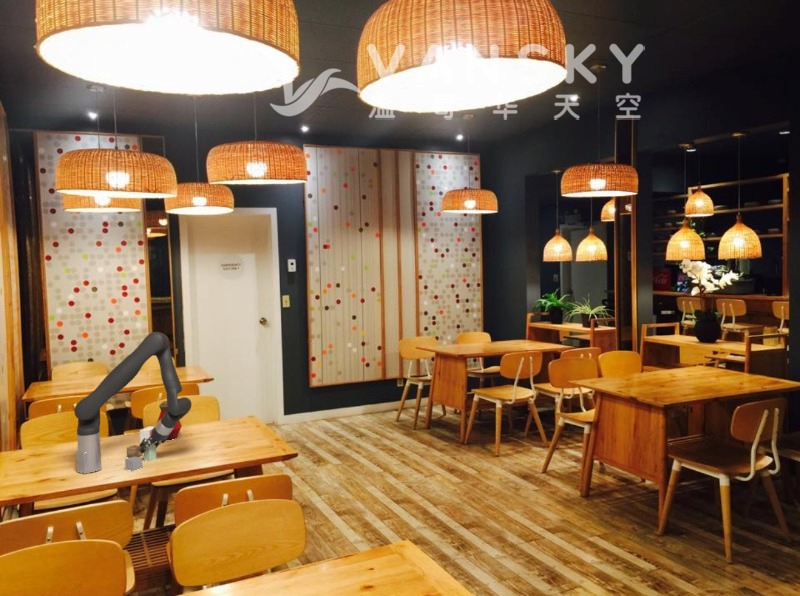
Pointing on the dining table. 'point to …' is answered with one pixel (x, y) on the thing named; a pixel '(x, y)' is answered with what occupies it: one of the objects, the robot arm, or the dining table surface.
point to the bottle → (176, 428)
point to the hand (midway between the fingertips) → (147, 450)
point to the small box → (146, 433)
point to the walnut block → (134, 451)
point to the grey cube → (133, 463)
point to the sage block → (150, 453)
